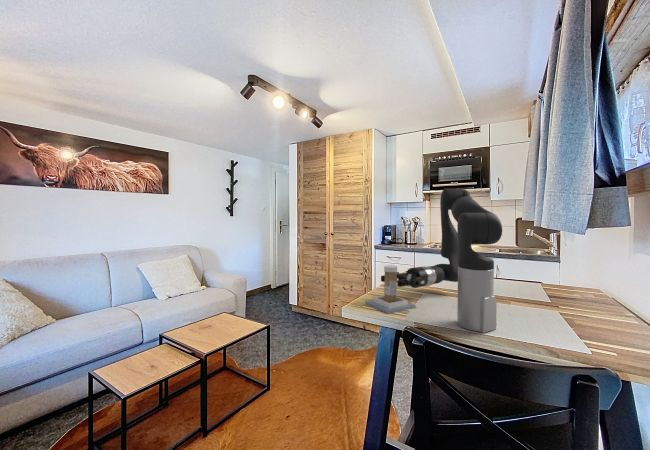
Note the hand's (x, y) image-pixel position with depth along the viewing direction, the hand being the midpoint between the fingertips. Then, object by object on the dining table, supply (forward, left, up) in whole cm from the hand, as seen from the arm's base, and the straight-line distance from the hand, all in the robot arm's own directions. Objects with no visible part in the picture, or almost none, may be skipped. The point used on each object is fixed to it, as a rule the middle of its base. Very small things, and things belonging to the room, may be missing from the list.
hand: (389, 281), depth 99 cm
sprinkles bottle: (0, 0, -8) cm, 8 cm away
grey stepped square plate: (0, 0, -9) cm, 9 cm away
